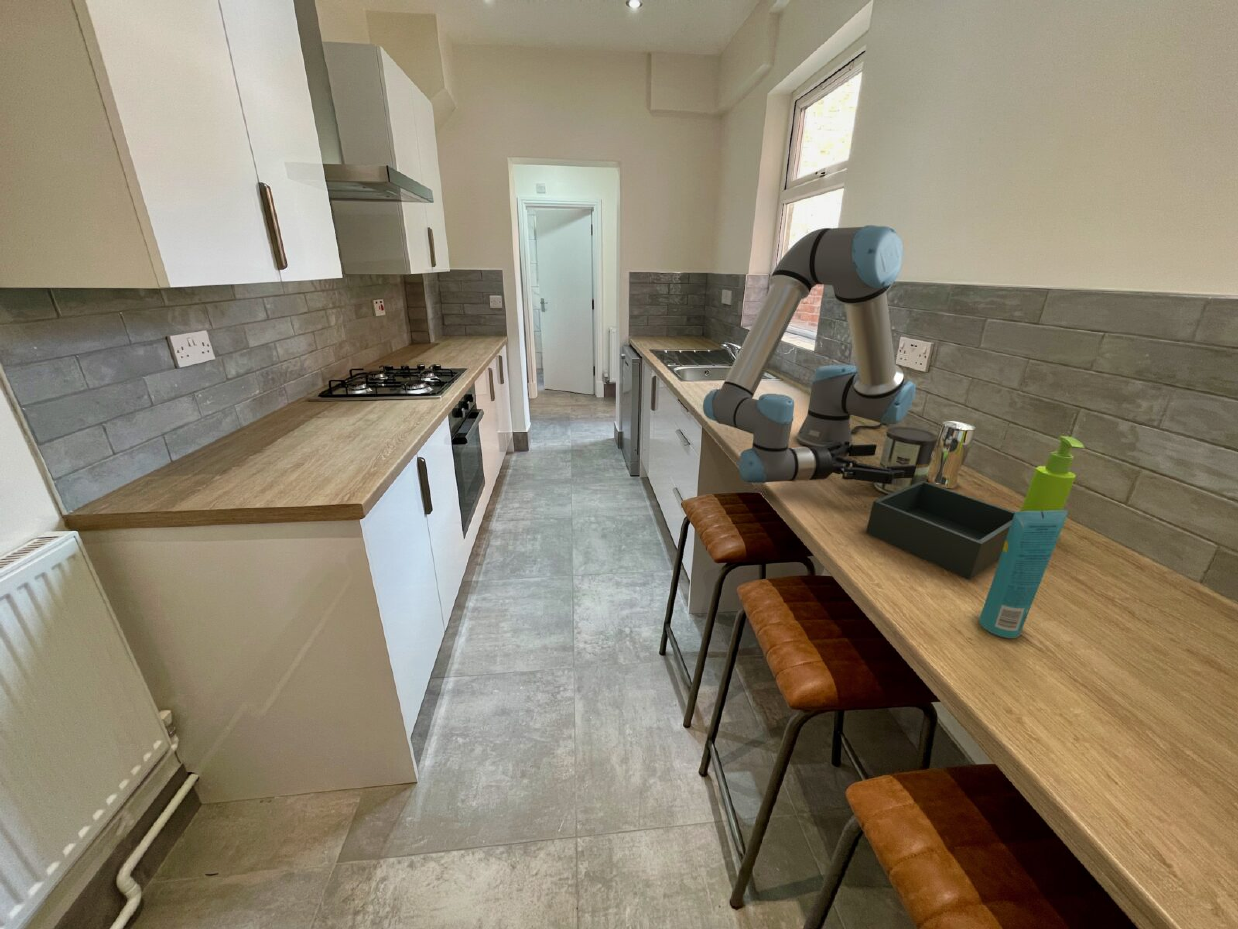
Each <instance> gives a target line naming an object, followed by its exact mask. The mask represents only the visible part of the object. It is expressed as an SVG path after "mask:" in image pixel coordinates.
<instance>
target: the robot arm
mask: <svg viewBox="0 0 1238 929" xmlns="http://www.w3.org/2000/svg"><path fill="white" fill-rule="evenodd" d="M903 248H904V247H903V243H902V240H901V237H900V235H899V234H898V232H897V231H896V230H895V229H894V228H891V227H889V226H885V225H884V226H883V225H873V224H869V225H864V226H853V227H851V226H850V227H833V228H832V227H824V228H823V227H822V228H818V229H816V230H813V231H811V232H808V233H807V234H806V235H804V236H802V237H801V238H800V239H799V240H797V241H796V242H795V243H794V244H793V245H792V246H791V247H790V248H789V249H788V250H787V251H786V252H785V254H784V255H783V256H782V257H781V259H780V260H779V262H778V263H777V265H776V266H775V268H774V270H773V271H772V274H771V276H770V278H769V282H768V284H769V287H770V288H769V289H768V292H767V294H766V296H765V298H764V300H763V302H762V304H761V306H760V308H759V310H758V312H757V315H756V316H755V319H754V320H753V323H752V325H751V327H750V328H749V331H748V333H747V335H746V337H745V339H744V341H743V343H742V345H741V347H740V349H739V351H738V354H737V355H736V358H735V359H734V361H733V363H732V366H731V368H730V369H729V372H728V374H727V376H726V377H725V380H724V382H723V384H722V386H721V388H718V389H717V388H714V389H712V390H710V391H709V392H708V393H707V394H706V395H705V397H704V399H703V403H702V411H703V414H704V415H705V417H706V419H709V420H711V421H714V422H716V423H717V424H719V425H723V426H728V427H730V428H734V429H737V430H740V431H742V432H746V433H748V434H752V435H753V437H752V446H751V448H748V449H747V448H746V449H743V450H742V451H741V453H740V455H739V456H738V471H739V475H740V477H741V478H742V479H743V480H744V482H746V483H752V484H753V483H756V484H757V483H760V484H761V483H762V484H766V483H777V482H791V483H795V482H797V481H824V480H826V479H828V478H830V476H831V475H832V474H836V475H841V479H842V480H844V481H846V480H847V481H851V480H852V481H860V482H868V483H874V484H875V483H883V484H892V480H893V479H900V478H914V474H915V471H916V467H917V466H915V465H907V466H887V468H883V467H879V466H877V465H873V464H867V463H863V462H862V463H861V462H858V461H857V460H856V459H852V458H847V457H846V456H848V457H872V456H873V457H874V456H876V452H877V447H878V445H877V444H875V443H871V444H870V443H869V444H867V443H866V444H852V443H853V437H852V434H856V433H857V432H858V429H879V428H881V427H882V426H883V425H885V426H886V425H896V424H898V423H900V422H902V421H903V419H904V418H905V417H906V415H907V414H908V412H909V410H910V409H911V406H912V405H913V402H914V399H915V396H916V391H917V386H916V384H915V383H914V382H912V381H910V380H905V378H904V377H905V376H904V372H903V370H902V368H901V367H899V366H898V365H896V359H895V352H894V343H893V337H892V328H891V320H890V313H889V312H890V311H889V305H888V298H887V297H888V296H887V293H888V291H889V290H890V289H891V287H892V285H893V283H895V281H896V280H897V278H898V277H899V275H900V272H901V270H902V261H903V260H904V249H903ZM817 285H821V286H822V285H823V286H831V287H832V288H833V289H832V290H833V294H834V298H835V299H836V301H837V302H839V303H841V304H843V306H844V310H845V316H846V322H847V325H848V326H847V327H848V331H849V336H850V337H849V338H850V342H851V348H852V352H853V357H854V362H855V365H854V364H853V365H852V364H834V365H833V364H832V365H824V366H823V365H822V366H819V367H817V368H816V369H815V371H814V375H813V379H812V381H811V383H812V384H811V390H810V395H809V402H808V409H807V414H806V417H805V418H804V420H803V422H802V424H801V426H800V427H799V430H798V432H797V436H796V441H797V443H799V444H800V445H803V446H798V447H797V446H796V447H789V444H790V439H791V432H792V426H793V422H794V410H795V401H794V399H793V398H792V397H791V396H790V395H789V396H788V395H786V394H781V393H780V394H779V393H764V394H761V395H759V397H758V399H756V398H754V396H755V394H756V391H757V389H758V387H759V385H760V383H761V381H762V380H763V378H764V375H765V373H766V371H767V370H768V367H769V365H770V364H771V361H772V359H773V357H774V356H775V354H776V351H777V349H778V347H779V345H780V343H781V341H782V339H783V337H784V335H785V333H786V331H787V329H788V327H789V326H790V323H791V321H792V319H793V317H794V315H795V313H796V312H797V309H798V307H799V305H800V302H801V301H802V300H804V299H806V298H808V296H809V295H810V293H811V291H812V289H813V288H814V287H816V286H817ZM851 416H854V417H857V418H861V419H865V420H869V421H872V422H876V423H879V424H878V425H856V426H854V428H853V430H852V429H851V422H850V418H851Z"/></svg>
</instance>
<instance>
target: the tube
mask: <svg viewBox="0 0 1238 929" xmlns="http://www.w3.org/2000/svg"><path fill="white" fill-rule="evenodd" d="M1014 512H1015V514H1014V517H1013V520H1012V523H1011V526H1010V529H1009V532H1008V535H1007V538H1006V541H1005V544H1004V547H1003V550H1002V553H1001V556H1000V558H999V559H998V563H997V566H996V569H995V572H994V574H993V578H992V581H991V584H990V586H989V590H988V593H987V595H986V598H985V602H984V603H983V606H982V610H981V613H980V615H979V619H978V622H979V625H980V626H981V627H982V628H983V629H984V630H986V631H988V632H989V633H991V634H993V635H995V636H998V637H1001V638H1005V639H1016V638H1018V637H1020V635H1021V632H1022V630H1023V627H1024V625H1025V623H1026V621H1027V618H1028V615H1029V612H1030V609H1031V607H1032V605H1033V602H1034V600H1035V597H1036V595H1037V593H1038V590H1039V587H1040V585H1041V583H1042V580H1043V577H1044V575H1045V573H1046V569H1047V568H1048V565H1049V562H1050V560H1051V558H1052V555H1053V552H1054V550H1055V548H1056V545H1057V543H1058V540H1059V538H1060V536H1061V532H1062V530H1063V528H1064V525H1065V522H1066V520H1067V517H1068V514H1069V513H1068V510H1066V509H1065V510H1064V509H1063V510H1062V511H1021V510H1020V511H1017V510H1016V511H1014Z"/></svg>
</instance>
